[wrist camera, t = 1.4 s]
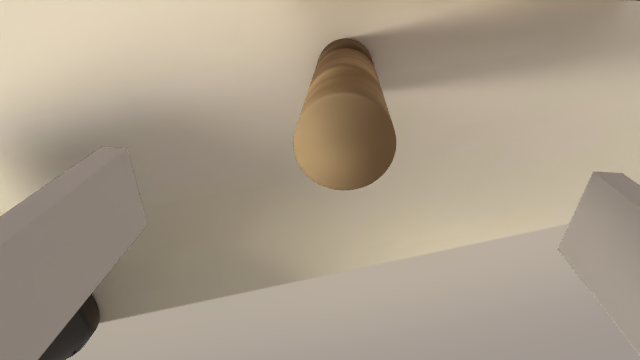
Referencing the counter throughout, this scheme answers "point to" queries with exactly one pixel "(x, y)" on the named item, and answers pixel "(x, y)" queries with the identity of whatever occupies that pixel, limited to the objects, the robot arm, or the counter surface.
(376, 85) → the oak dowel
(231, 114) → the counter surface
